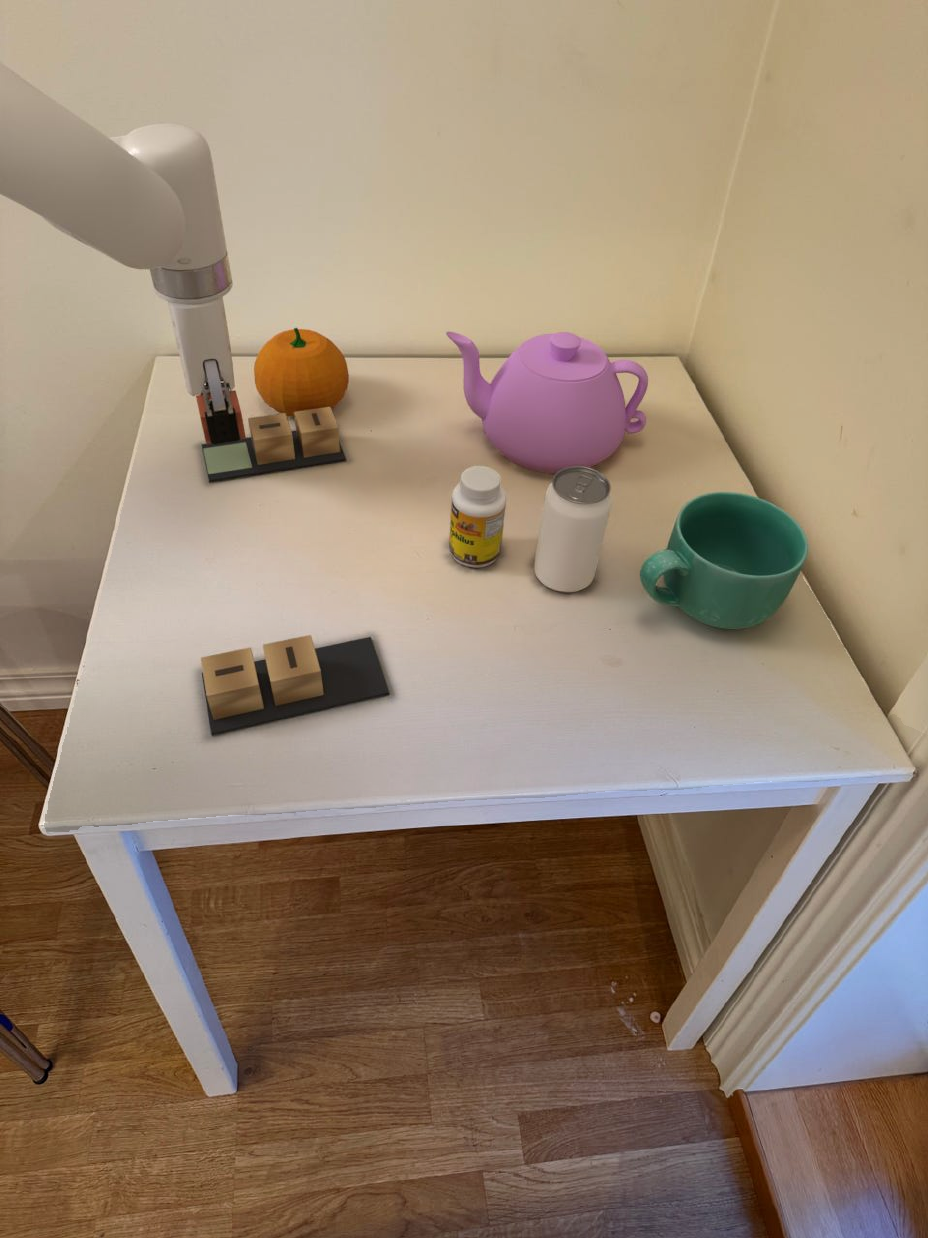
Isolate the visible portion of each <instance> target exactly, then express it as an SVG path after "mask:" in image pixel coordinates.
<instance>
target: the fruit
mask: <svg viewBox="0 0 928 1238" xmlns="http://www.w3.org/2000/svg"><path fill="white" fill-rule="evenodd" d="M253 376H254V384H255V388H256V390H257V392H258V394H259V396H260V398H261V399H262V400H263V401H264V402H265V404H266V405H267V406H269V407H270V408H271V409H273V410H275V411H276V412H278V413H279V414H282V413H285V414H286V416H290V417H295V416H294V412H297V411H304V410H311V409H318V408H325V407H331V410H333V409H334V408H335V407H336V406H337V405H338V404H339V403H340V402H341V401H342V400H343V399H344V397H345V394H346V392H347V389H348V386H349V384H350V383H349V381H350V375H349V369H348V364H347V360H346V357H345V355H344V354H343V353H342V351H341V350H340V349H339V347H338V346H337V345H336V344H335V343H334V342H333V341H332V340H331V339H329V337H328V338H327V337H326V336H325V335H324V334H323V335H322V334H321V333H319V332H317V331H314V330H311V329H306V328H305V329H304V328H298V327H294V328H293V329H292V328H291V329H288V330H284V331H281V332H278V333H277V334H275V335H273V337H272V338H270V339H268V341H266V342H265V344H264V345H263V346H262V347H261V348H260V351H259V352H258V354H257V356H256V359H255V361H254V367H253Z"/></svg>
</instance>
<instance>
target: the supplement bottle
mask: <svg viewBox="0 0 928 1238" xmlns="http://www.w3.org/2000/svg"><path fill="white" fill-rule="evenodd" d="M450 506H451V508H450V521H449V522H450V523H449V541H448V549H449V553H450V555H451V557H452V558H453V559H454V560H455V561H456V562H457V563H459V564H460V565H462V566H465V567H469V568H477V569H478V568H484V567H487V566H489V565H491V564H493V563H494V562H495V561H497V559H498V558H499V556H500V554H501V548H502V539H503V534H504V525H505V515H506V509H507V508H506V507H507V494H506V491H505V490H504V488H503V487H502V486H501V477H500V473H498V472H497V471H496V470H495V469H493V468H491V467H489V466H484V465H473V466H470V467H467V468H466V469H464V470H463V472H462V473H461V474H460V482H459V483H458V484H457V485H455V487H454V488H453V490H452V493H451V504H450Z"/></svg>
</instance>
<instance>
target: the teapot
mask: <svg viewBox="0 0 928 1238" xmlns="http://www.w3.org/2000/svg"><path fill="white" fill-rule="evenodd" d="M445 335H446V336H447V337H448V338H449V339H450V341H451V342H453V343H454V344H455V345H456V346H457V348H458V350H459V352H460V353H461V356H462V362H463V379H462V380H463V394H464V398H465V401H466V403H467V405H468V407H469V409H470V410H471V411H472V413H474V414H475V415H476V416H477V417H478V418H479V419H480V420H481V424H482V428H483V431H484V434H485V436H486V438H487V439H488V441H489V442H490V443H491V444H492V446H493V447H494V448H495V449H497V451H498V452H499V453H500V454H501V455H502V456H504V457H505V458H506V460H507V459H508V460H509V461H510V462H512V463H513V464H515V465H517V466H519V467H522V468H524V469H527V470H529V471H533V472H536V473H543V474H551V475H555V474H556V473H557V472H558V471H560V470H561V469H564V468H567V467H572V466H582V467H588V468H593V467H594V466H596V465H598V464H600V463H601V462H603V461H605V460H606V459H607V458H609V457H611V456H612V455H613V454H614V453H615V452H616V451H617V450H618V448H619V446H620V445H621V443H622V442H623V440H624V437H625V433H627V434H631V435H632V434H637V433H640V432H641V431H642V430H644V428H645V426H646V424H647V417H646V414H645V413H644V412H643V411H642V410H639V409H638V407H639V406H640V404H641V402H642V401H643V399H644V397H645V396H646V394H647V393H646V392H647V391H648V386H649V375H648V373H647V370H646V369H645V368H644V366H642V365H641V364H640V363H638V362H637V361H634V360H630V359H618V360H614V361H612V362H611V360H610V359H609V357H608V356H607V353H606V352H605V351H604V350H603V349H602V348H601V347H600V346H598V344H596V343H595V342H593V341H591V340H589V339H587V338H584V337H581V336H578V335H576V333H575V334H574V333H573V332H569V331H557V332H555V333H543V334H539V335H536V336H533V337H531V338H529V339H526V340H525V341H524V342H522V343H521V344H520V345H519V346H518V347H517V348H516V349H515V350H514V351H513V352H512V353H511V354H510V355H509V357H508V358H507V359H506V360H505V361H504V362H503V364H502V365H501V366H500V368H499V369H498V370H497V371H496V373H495V374H494V376H493V378H492V380H491V382H488V381H487V380H486V379H485V378H484V377H483V376H482V374H481V373H482V372H481V369H480V367H481V366H480V365H481V364H480V352H479V350H478V347H477V346H476V344H475V343H474V341H473V340H471V339H470V338H468V337H467V336H465V335H464V334H461V333H457V332H455V331H446V332H445ZM617 374H631V375H634V376H635V377H637V378H638V383H637V385H636V389H635V390H634V393H633V394H632V396H631V398H630V399H629V401H628V403H627V404H626V400H625V396H624V392H623V388H622V385H621V382H620V380H619V378H618V375H617ZM632 419H637V420H636V421H631V420H632Z"/></svg>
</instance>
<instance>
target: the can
mask: <svg viewBox="0 0 928 1238" xmlns="http://www.w3.org/2000/svg"><path fill="white" fill-rule="evenodd" d="M611 487H612V486H611V483H610V481H609V479H608V478H607V476H605V475H604V474H603V473H601V472H600V471H598V470H596V469H593V468H592V467H590V468H588V467H582V466H572V467H567V468H564V469H561V470H560V471H558V472H557V473H556V474H553V477H552V481H551V482H550V484H549V485H548V487H547V489H546V492H545V495H544V496H545V497H544V502H543V506H542V507H543V509H542V514H541V521H540V526H539V531H538V539H537V545H536V550H535V557H534V565H533V571H534V575H535V576H536V578H537V579H538V581H539V582H540V583H541V584H542V585H543V586H545V587H546V588H548V589H550V590H552V591H554V592H555V591H556V592H560V593H568V594H569V593H577V592H579V591H582V590H584V589H586V588H587V587H589V586H590V585H591V584H592V582H593V580H594V579H595V575H596V572H597V571H596V570H597V567H598V563H599V559H600V556H601V551H602V547H603V543H604V539H605V534H606V530H607V526H608V521H609V518H610V512H611V509H612V504H613V503H612V501H613V499H612V495H611V494H612V493H611V491H612V490H611V489H612V488H611Z"/></svg>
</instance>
